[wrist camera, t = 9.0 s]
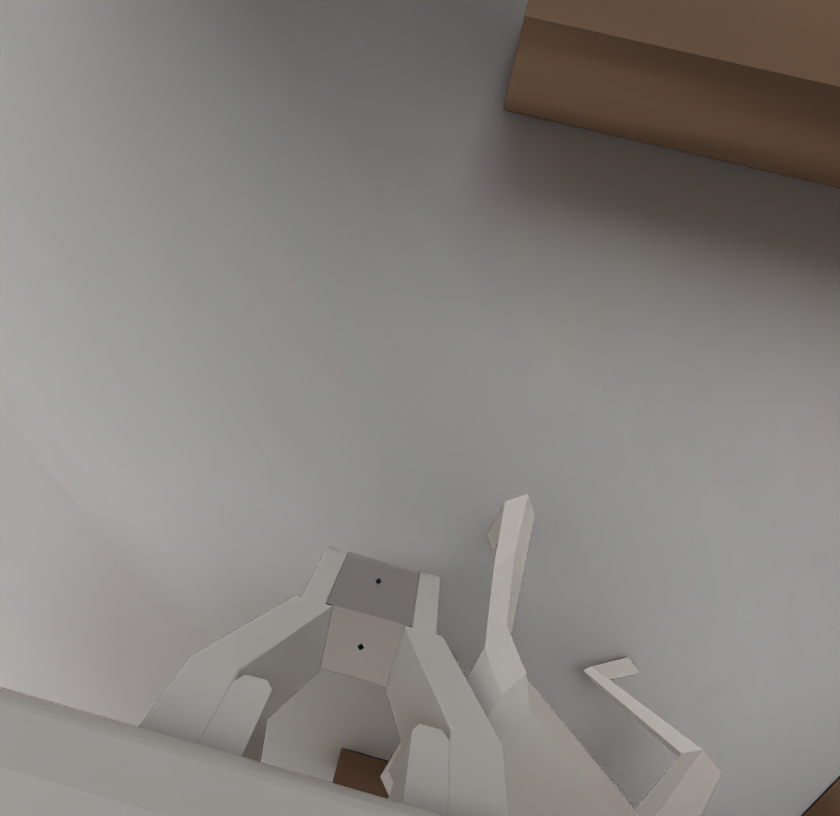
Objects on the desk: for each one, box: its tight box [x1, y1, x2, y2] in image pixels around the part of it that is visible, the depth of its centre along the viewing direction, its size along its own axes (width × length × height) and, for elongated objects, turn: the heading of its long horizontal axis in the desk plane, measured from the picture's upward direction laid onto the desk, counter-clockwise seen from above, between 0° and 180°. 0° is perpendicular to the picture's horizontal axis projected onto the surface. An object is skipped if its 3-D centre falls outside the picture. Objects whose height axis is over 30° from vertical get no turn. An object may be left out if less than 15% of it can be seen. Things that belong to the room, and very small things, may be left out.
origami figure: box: [380, 494, 722, 816], centre depth 10 cm, size 12×8×5 cm
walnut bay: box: [333, 0, 840, 816], centre depth 9 cm, size 24×18×5 cm
